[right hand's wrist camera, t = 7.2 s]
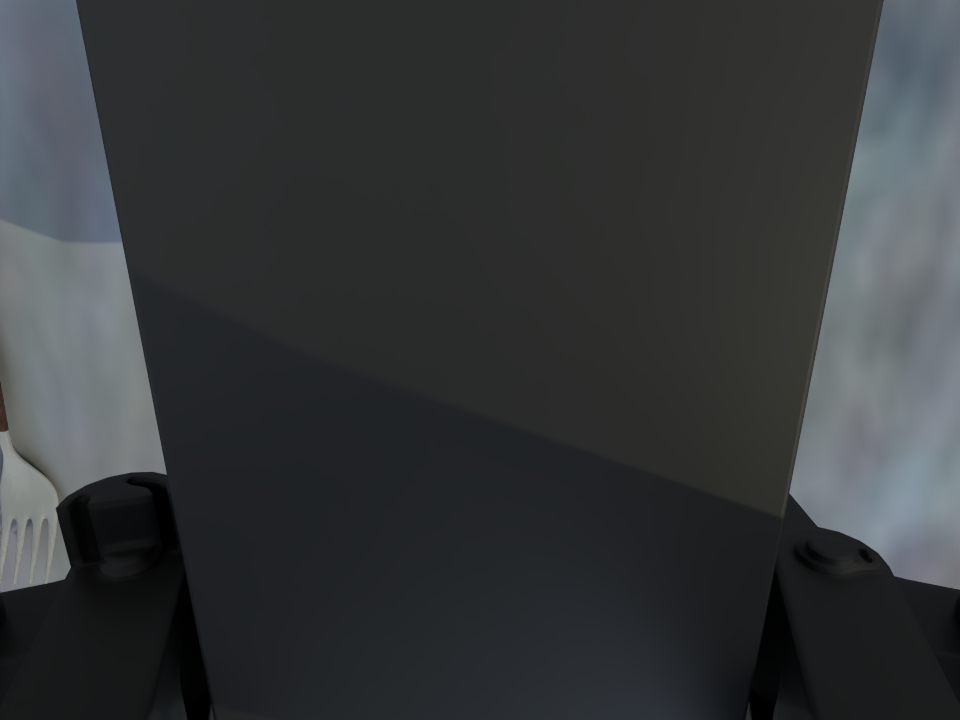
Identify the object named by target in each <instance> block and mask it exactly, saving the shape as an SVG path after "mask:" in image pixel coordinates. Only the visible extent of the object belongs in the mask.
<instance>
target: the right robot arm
mask: <svg viewBox="0 0 960 720" xmlns="http://www.w3.org/2000/svg"><path fill="white" fill-rule="evenodd" d="M55 509H56V512H57V516H58V520H59V524H60V527H61V531H62V535H63V539H64V542H65V546H66V550H67V554H68V557H69V561H70V565H71V569H70V570H69V572H68V574H67V576H66V578H65V579H64V580H60V581H57V582H52V583H47V584H42V585H37V586H32V587H27V588H22V589H17V590H12V591H7V592H2V593H0V720H214V716H213V711H212V706H211V701H210V695H209V690H208V685H207V680H206V675H205V669H204V664H203V659H202V654H201V649H200V643H199V638H198V633H197V628H196V622H195V617H194V612H193V607H192V602H191V596H190V591H189V586H188V581H187V576H186V570H185V565H184V560H183V555H182V550H181V544H180V539H179V534H178V529H177V524H176V518H175V513H174V508H173V503H172V497H171V492H170V487H169V482H168V477H167V475H165V474H160V473H155V472H136V473H127V474H122V475H117V476H112V477H108V478H105V479H102V480H100V481H97V482H94V483H91V484H89V485H86V486H84V487H83V488H81V489H79V490H77V491H76V492H74V493H72V494H70V495H69V496H67V497H66V498H65V499H64V500H63V501H62V502H61V503H60V504H59V505H58V506H57V507H56V508H55ZM746 720H960V590H958V589H953V588H947V587H942V586H937V585H932V584H927V583H922V582H917V581H912V580H907V579H903V578H899V577H895V576H894V575H893V573H892V571H891V569H890V567H889V566H888V565H887V563H886V562H885V561H884V560H883V559H882V557H881V556H880V555H879V554H878V553H877V552H876V551H874V550H873V549H871V548H870V547H868V546H867V545H865V544H864V543H862V542H861V541H859V540H857V539H854V538H852V537H850V536H847V535H845V534H843V533H840V532H837V531H833V530H828V529H824V528H820V527H817V526H816V524H815V523H814V522H813V521H812V520H811V518H810V517H809V516H808V515H807V514H806V513H805V511H804V510H803V509H802V508H801V507H800V505H799V504H798V503H797V502H796V501H795V500H794V498H793V497H792V496H791V495H790V494H789V496H788V501H787V506H786V511H785V517H784V522H783V527H782V532H781V537H780V543H779V548H778V553H777V558H776V563H775V569H774V574H773V579H772V584H771V590H770V595H769V600H768V605H767V610H766V616H765V621H764V626H763V631H762V636H761V642H760V647H759V652H758V657H757V663H756V668H755V673H754V678H753V683H752V689H751V694H750V699H749V704H748V709H747V715H746Z"/></svg>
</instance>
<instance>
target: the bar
mask: <svg viewBox="0 0 960 720" xmlns="http://www.w3.org/2000/svg"><path fill="white" fill-rule="evenodd" d="M883 1H884V0H76V3H77V8H78V13H79V18H80V24H81V29H82V34H83V39H84V44H85V50H86V55H87V60H88V65H89V70H90V76H91V81H92V86H93V91H94V96H95V102H96V107H97V112H98V117H99V122H100V128H101V133H102V138H103V143H104V149H105V154H106V159H107V164H108V169H109V175H110V180H111V185H112V190H113V195H114V201H115V206H116V211H117V216H118V221H119V227H120V232H121V237H122V242H123V247H124V253H125V258H126V263H127V268H128V274H129V279H130V284H131V289H132V294H133V300H134V305H135V310H136V315H137V320H138V326H139V331H140V336H141V341H142V346H143V352H144V357H145V362H146V367H147V372H148V378H149V383H150V388H151V393H152V399H153V404H154V409H155V414H156V419H157V425H158V430H159V435H160V440H161V445H162V451H163V456H164V461H165V466H166V471H167V477H168V482H169V487H170V492H171V497H172V503H173V508H174V513H175V518H176V524H177V529H178V534H179V539H180V544H181V550H182V555H183V560H184V565H185V570H186V576H187V581H188V586H189V591H190V596H191V602H192V607H193V612H194V617H195V622H196V628H197V633H198V638H199V643H200V649H201V654H202V659H203V664H204V669H205V675H206V680H207V685H208V690H209V695H210V701H211V706H212V711H213V716H214V720H746V715H747V709H748V704H749V699H750V694H751V689H752V683H753V678H754V673H755V668H756V663H757V657H758V652H759V647H760V642H761V636H762V631H763V626H764V621H765V616H766V610H767V605H768V600H769V595H770V590H771V584H772V579H773V574H774V569H775V563H776V558H777V553H778V548H779V543H780V537H781V532H782V527H783V522H784V517H785V511H786V506H787V501H788V496H789V491H790V485H791V480H792V475H793V470H794V464H795V459H796V454H797V449H798V444H799V438H800V433H801V428H802V423H803V418H804V412H805V407H806V402H807V397H808V391H809V386H810V381H811V376H812V371H813V365H814V360H815V355H816V350H817V345H818V339H819V334H820V329H821V324H822V318H823V313H824V308H825V303H826V298H827V292H828V287H829V282H830V277H831V272H832V266H833V261H834V256H835V251H836V246H837V240H838V235H839V230H840V225H841V219H842V214H843V209H844V204H845V199H846V193H847V188H848V183H849V178H850V173H851V167H852V162H853V157H854V152H855V146H856V141H857V136H858V131H859V126H860V120H861V115H862V110H863V105H864V100H865V94H866V89H867V84H868V79H869V73H870V68H871V63H872V58H873V53H874V47H875V42H876V37H877V32H878V27H879V21H880V16H881V11H882V6H883Z"/></svg>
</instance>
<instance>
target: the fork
mask: <svg viewBox="0 0 960 720" xmlns="http://www.w3.org/2000/svg"><path fill="white" fill-rule="evenodd" d="M0 446H1V449H2V452H3V469H2V475H1V482H0V504H1V516H2V536H1V551H0V584H1V581H2V576H3V570H4V565H5V560H6V554H7V548H8V541H9V534H10V527H11V523H12V520H13V519H15V520H16V522H17V545H16V560H15V571H14V580H13V584H16V583H17V579H18V574H19V568H20V563H21V557H22V551H23V545H24V538H25V530H26V525H27V521H28V519H31V520H32V524H33V538H32V555H31V568H30V578H29V584H32V582H33V577H34V572H35V566H36V560H37V554H38V548H39V541H40V534H41V527H42V522H43V520H44V519H45V518H46V519H47V520H48V549H47V565H46V576H45V584H47V583H48V582H49V575H50V570H51V564H52V558H53V552H54V545H55V538H56V529H57V520H58V516H57V512H56V509H55V508H56V507H57V506H58V505H59V501H58V495H57V492H56V490H55V488H54V486H53V485H52V483H51V482H50V481H49V480H48V479H47V478H46V477H45V476H44V475H43V474H42V473H40V472H39V471H38V470H36V469H35V468H34V467H32V466H31V465H30V464H28V463H27V462H26V461H25V460H23V459H22V458H21V457H20V456H19V455H18V454H17V453H16V451H15V449H14V448H13V445H12V442H11V439H10V434H9V429H8V423H7V418H6V412H5V406H4V400H3V394H2V389H1V383H0Z"/></svg>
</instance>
